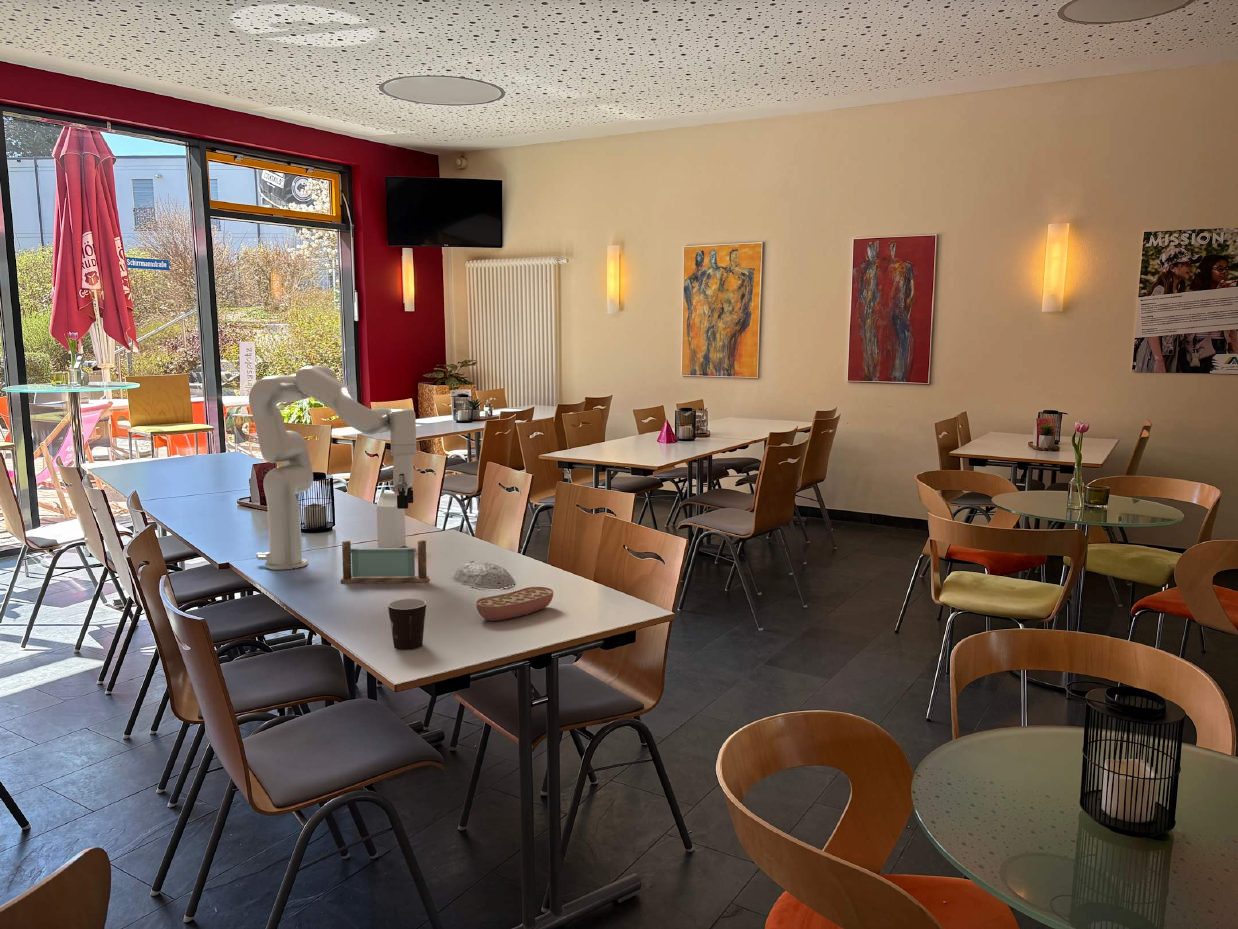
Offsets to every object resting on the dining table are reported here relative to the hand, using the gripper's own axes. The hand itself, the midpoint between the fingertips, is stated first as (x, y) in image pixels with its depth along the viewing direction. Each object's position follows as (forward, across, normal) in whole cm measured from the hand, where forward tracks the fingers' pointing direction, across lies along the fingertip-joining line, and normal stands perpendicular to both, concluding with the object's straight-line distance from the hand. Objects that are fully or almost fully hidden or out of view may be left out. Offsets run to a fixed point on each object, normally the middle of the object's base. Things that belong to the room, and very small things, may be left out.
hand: (405, 505), depth 264 cm
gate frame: (+21, +9, -5) cm, 23 cm away
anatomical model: (+22, +44, +35) cm, 61 cm away
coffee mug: (+22, +69, +10) cm, 73 cm away
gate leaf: (+20, +9, -6) cm, 22 cm away
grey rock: (+22, +9, +24) cm, 34 cm away
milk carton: (+21, -37, -11) cm, 44 cm away
